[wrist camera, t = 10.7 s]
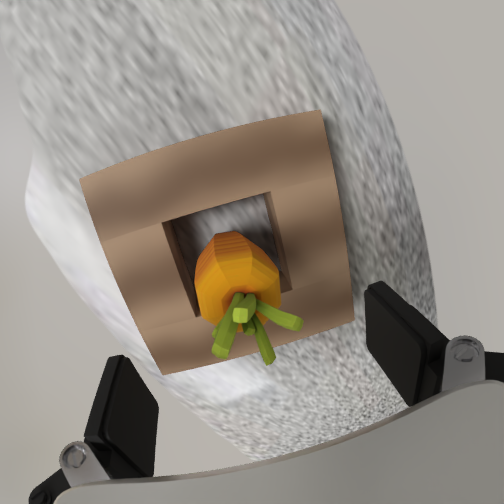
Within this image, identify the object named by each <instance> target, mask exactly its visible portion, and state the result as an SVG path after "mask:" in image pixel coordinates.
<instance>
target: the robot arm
mask: <svg viewBox="0 0 504 504" xmlns="http://www.w3.org/2000/svg"><path fill="white" fill-rule="evenodd" d="M364 298H365V317H366V344H367V347H368V350H369V351H370V353H371V354H372V356H373V357H374V358H375V360H376V361H377V363H378V364H379V365H380V367H381V368H382V370H383V371H384V372H385V374H386V375H387V377H388V378H389V379H390V381H391V382H392V384H393V385H394V387H395V388H396V389H397V391H398V392H399V394H400V395H401V397H402V398H403V399H404V401H405V402H406V404H407V405H408V406H409V408H407V409H405V410H403V411H401V412H399V413H397V414H394V415H392V416H390V417H388V418H385V419H383V420H381V421H379V422H376V423H374V424H372V425H369V426H367V427H365V428H362V429H360V430H357V431H355V432H352V433H349V434H347V435H344V436H341V437H339V438H336V439H333V440H330V441H327V442H324V443H321V444H318V445H315V446H312V447H309V448H306V449H303V450H299V451H296V452H292V453H289V454H285V455H282V456H278V457H274V458H270V459H266V460H262V461H258V462H253V463H249V464H244V465H239V466H234V467H228V468H224V469H217V470H211V471H205V472H197V473H189V474H181V475H171V476H161V477H160V476H159V477H153V475H154V462H155V445H156V434H157V423H158V413H159V407H158V403H157V401H156V400H155V398H154V397H153V395H152V394H151V392H150V391H149V389H148V388H147V386H146V384H145V383H144V381H143V380H142V378H141V377H140V375H139V373H138V372H137V370H136V369H135V367H134V365H133V364H132V362H131V360H130V359H129V358H128V357H125V356H124V355H117V356H112V357H109V358H108V360H107V363H106V366H105V369H104V372H103V375H102V378H101V381H100V384H99V387H98V390H97V393H96V396H95V399H94V402H93V406H92V409H91V412H90V416H89V419H88V423H87V426H86V429H85V433H84V437H85V439H84V442H82V441H75V442H72V443H70V444H68V445H67V446H66V447H65V448H64V449H63V450H62V452H61V454H60V457H59V462H60V466H61V469H59V470H58V471H57V472H55V473H54V474H53V475H52V476H50V477H49V478H48V479H46V480H45V481H44V482H42V483H41V484H40V485H38V486H37V487H36V488H35V489H34V490H33V491H32V492H31V494H30V497H29V504H504V353H497V352H485V351H484V347H483V345H482V343H481V342H480V341H479V340H477V339H476V338H474V337H471V336H459V337H455V338H453V339H452V340H449V339H448V338H446V336H445V335H443V334H442V333H441V332H440V331H439V330H438V329H437V328H436V327H435V326H434V325H433V324H432V323H431V322H430V321H429V320H428V319H426V318H425V317H424V316H423V315H422V314H421V313H420V312H419V311H418V310H417V309H416V308H414V307H413V306H412V305H409V304H408V303H407V302H406V301H405V300H404V299H403V298H402V297H400V296H399V295H398V294H397V293H396V292H395V291H394V290H393V289H391V288H390V287H389V286H388V285H387V284H386V283H385V282H383V281H379V282H376V283H373V284H370V285H369V286H368V288H367V290H365V292H364Z"/></svg>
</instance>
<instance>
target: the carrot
mask: <svg viewBox="0 0 504 504" xmlns="http://www.w3.org/2000/svg"><path fill="white" fill-rule="evenodd" d="M194 283H195V288H196V293H197V298H198V303H199V307H200V312H201V316H202V317H203V319H205V320H207V321H208V322H210V323H212V324H214V325H215V326H216V327H215V329H214V330H213V332H212V337H213V338H215V340H214V343H213V346H212V353H213V354H214V355H215V356H216V357H217V358H220V359H225V360H226V359H227V357H228V355H229V352H230V350H231V347H232V344H233V342H234V339H235V335H236V333H237V332H243V331H244V334H246V335H247V336H250V335H253V334H254V335H255V338H256V341H257V344H258V347H259V350H260V353H261V355H262V358H263V360H264V362H265V364H266V366H267V365H269V364H272V363H273V361H274V360H275V358H276V356H275V353H274V350H273V348H272V345H271V343H270V341H269V338H268V336H267V334H266V331H265V329H264V327H263V325H264V324H265V323H266V322H267V321H268V320H269V319H270V320H272V321H273V322H275V323H276V324H277V325H280V326H282V327H285V328H287V329H290V330H294V331H300V330H301V328H302V326H303V322H304V321H303V320H302V318H300V317H298V316H295V315H292V314H289V313H286V312H283V311H281V310H279V309H278V308H279V307H280V306H281V292H280V280H279V271H278V268H277V267H276V266H275V264H274V263H273V262H272V260H271V259H270V258H269V257H268V256H267V254H266V253H265V252H264V251H263V250H262V249H261V248H259V247H258V246H257V245H255V244H254V243H252V242H251V241H250V240H248V239H247V238H246V237H244V236H243V235H241V234H240V233H238V232H236V231H230V232H224V233H218V234H215V235H214V237H213V238H212V239H211V241H210V242H209V243H208V245H207V246H206V247H205V249H204V250H203V251H202V253H201V254H200V256H199V258H198V260H197V265H196V270H195V280H194Z"/></svg>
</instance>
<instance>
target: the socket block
mask: <svg viewBox="0 0 504 504" xmlns="http://www.w3.org/2000/svg"><path fill="white" fill-rule="evenodd" d="M79 180H80V184H81V187H82V190H83V193H84V197H85V200H86V203H87V206H88V209H89V212H90V215H91V218H92V221H93V223H94V226H95V229H96V232H97V235H98V237H99V240H100V243H101V245H102V248H103V250H104V253H105V256H106V258H107V261H108V263H109V266H110V268H111V270H112V273H113V275H114V278H115V280H116V282H117V285H118V287H119V289H120V291H121V294H122V296H123V298H124V300H125V302H126V305H127V307H128V309H129V311H130V313H131V315H132V317H133V319H134V322H135V324H136V326H137V328H138V330H139V332H140V334H141V336H142V338H143V340H144V342H145V343H146V345H147V347H148V349H149V351H150V353H151V355H152V357H153V359H154V360H155V362H156V364H157V366H158V368H159V370H160V371H161V373H162V375H166V374H171V373H176V372H181V371H185V370H190V369H194V368H198V367H203V366H207V365H211V364H215V363H219V362H223V361H227V360H231V359H234V358H238V357H242V356H245V355H249V354H253V353H256V352H260V350H259V347H258V344H257V341H256V338H255V335H254V334H253V335H250V336H247V335H246V334H244V331H243V332H237V333H236V335H235V339H234V342H233V344H232V347H231V350H230V352H229V355H228V357H227V359H226V360H225V359H220V358H217V357H216V356H215V355H214V354H213V353H212V346H213V343H214V340H215V338H213V337H212V332H213V330H214V329H215V327H216V326H215V325H214V324H212V323H210V322H208V321H207V320H205V319H203V317H202V316H201V312H200V307H199V303H198V298H197V294H196V292H195V289H194V286H193V283H192V281H191V278H190V275H189V272H188V269H187V267H186V264H185V261H184V258H183V255H182V252H181V249H180V246H179V243H178V240H177V237H176V234H175V231H174V228H173V225H172V222H171V219H175V218H178V217H181V216H184V215H188V214H191V213H194V212H198V211H201V210H205V209H208V208H211V207H215V206H218V205H222V204H225V203H229V202H232V201H236V200H240V199H243V198H247V197H251V196H254V195H258V194H262V193H263V195H264V200H265V204H266V208H267V212H268V216H269V220H270V224H271V228H272V233H273V237H274V241H275V245H276V250H277V254H278V258H279V262H280V267H281V271H279V280H280V292H281V306H280V307H279V308H278V309H279V310H281V311H283V312H286V313H289V314H292V315H295V316H298V317H300V318H302V320H303V321H304V322H303V326H302V328H301V330H300V331H294V330H290V329H287V328H285V327H282V326H280V325H277V324H276V323H275V322H273V321H272V320H270V319H269V320H268V321H267V322H266V323H265V324H264V325H263V327H264V329H265V331H266V334H267V336H268V338H269V341H270V343H271V345H272V348H273V347H277V346H280V345H283V344H287V343H290V342H293V341H296V340H299V339H302V338H305V337H308V336H311V335H314V334H317V333H320V332H323V331H326V330H329V329H332V328H335V327H338V326H340V325H343V324H346V323H349V322H351V321H354V320H355V318H354V307H353V296H352V286H351V277H350V269H349V261H348V253H347V246H346V239H345V232H344V225H343V219H342V212H341V206H340V201H339V195H338V189H337V184H336V179H335V173H334V168H333V163H332V158H331V154H330V149H329V144H328V140H327V135H326V131H325V127H324V122H323V118H322V114H321V110H315V111H309V112H303V113H298V114H292V115H287V116H282V117H277V118H272V119H267V120H263V121H258V122H254V123H249V124H245V125H241V126H237V127H233V128H229V129H225V130H221V131H217V132H214V133H210V134H206V135H203V136H199V137H196V138H192V139H189V140H186V141H182V142H179V143H176V144H173V145H169V146H166V147H163V148H160V149H157V150H154V151H151V152H148V153H145V154H142V155H140V156H137V157H134V158H131V159H129V160H126V161H123V162H120V163H118V164H115V165H113V166H110V167H108V168H105V169H102V170H100V171H98V172H95V173H93V174H90V175H88V176H85V177H83V178H81V179H79Z"/></svg>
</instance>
